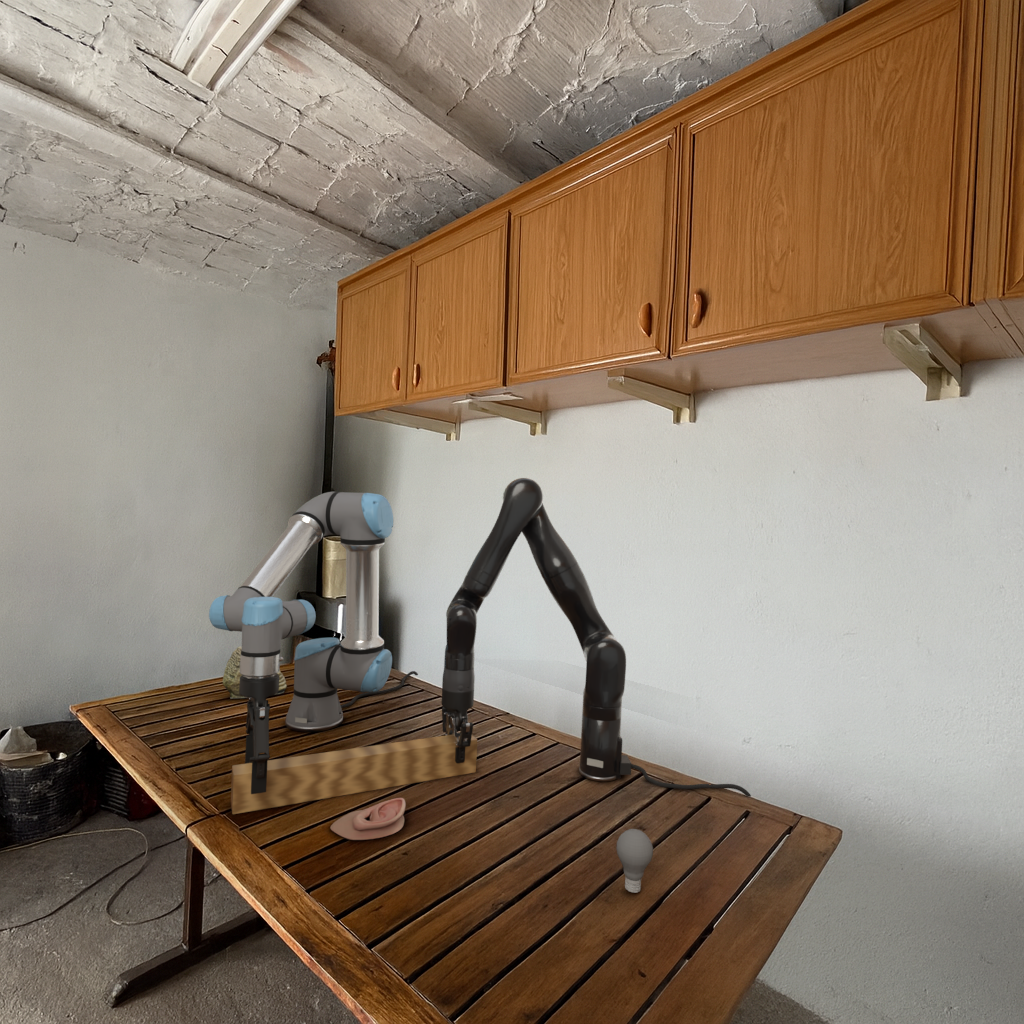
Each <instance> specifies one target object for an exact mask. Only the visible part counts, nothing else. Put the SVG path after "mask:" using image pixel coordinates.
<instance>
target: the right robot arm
mask: <svg viewBox="0 0 1024 1024" xmlns="http://www.w3.org/2000/svg"><path fill="white" fill-rule="evenodd" d="M543 500H544V494H543V490H542V487H541V485H539V483H537V482H536V481H535V480H534V479H532V478H530V477H529V478H528V477H519V478H516V479H514V480H512V481H511V482H509V483H508V484H507V485H506V487H505V489H504V490H503V494H502V504H501V507H500V510H499V514H498V516H497V518H496V521H495V523H494V525H493V527H492V528H491V531H490V532H489V534H488V536H487V538H486V539H485V541H484V543H483V544H482V545H481V547H480V549H479V550H478V552H477V554H476V555H475V558H474V559H473V560H472V563H471V564H470V567H469V568H468V570H467V573H466V575H465V576H464V579H463V582H462V583H461V585H460V587H459V588H458V590H457V591H456V592H455V595H454V596H453V598H452V599H451V601H450V603H449V605H448V607H447V610H446V612H445V617H446V618H445V619H446V645H445V648H444V659H443V660H444V662H443V673H442V683H441V685H442V686H441V706H442V707H441V721H442V723H441V724H442V726H441V727H442V732H443V733H444V736H446V735H453V737H455V744H456V748H455V762H456V763H463V762H464V761H465V747H468V746H470V744H471V737H472V735H473V731H474V723H473V721H472V722H469V717H468V711H469V710H470V709H471V708H473V706H474V700H475V699H474V698H475V681H476V677H475V676H476V675H475V657H476V656H475V655H476V654H475V653H476V652H475V643H476V635H477V626H478V612H479V611H480V608H481V607H482V605H483V603H484V601H485V599H486V598H487V597H488V596H489V595H490V594H491V592H492V591H493V588H494V586H495V585H496V583H497V581H498V579H499V577H500V575H501V573H502V571H503V570H504V566H505V564H506V562H507V560H508V558H509V557H510V554H511V552H512V549H514V545H515V544H516V542H517V540H518V539H519V537H520V535H521V534H523V536H524V538H525V540H526V542H527V545H528V547H529V549H530V552H531V555H532V558H533V560H534V562H535V565H536V567H537V569H538V571H539V573H540V575H541V578H542V579H543V582H544V584H545V585H546V587H547V590H548V591H549V593H550V595H551V596H552V598H553V600H554V602H555V604H557V606H558V607H559V609H560V610H561V611H562V613H563V615H564V616H565V617H566V618H567V620H568V622H570V625H571V626H572V629H573V631H574V634H575V635H576V637H577V640H578V642H579V645H580V648H581V651H582V654H583V657H584V660H585V661H586V663H585V667H586V668H585V682H584V683H585V684H584V688H583V692H582V709H581V710H582V711H581V713H582V714H581V732H580V733H581V734H580V750H579V751H580V752H579V753H580V754H579V767H578V773H579V774H580V776H582V777H583V778H585V779H587V780H590V781H594V782H611V781H615V780H621V779H622V776H631V775H632V769H633V770H637V771H639V772H640V773H641V774H642V775H643V778H644V779H645V780H646V781H648V782H649V783H650V784H652V785H655V786H658V787H661V788H666V789H676V790H701V789H714V790H719V789H720V790H721V789H732V790H737V791H739V792H741V793H742V794H744V796H746V797H752V794H751V793H750V792H749V791H748V790H747V789H745V788H744V787H742V786H741V785H738V784H734V783H698V784H697V783H695V784H679V783H666V782H661V781H658V780H655V779H654V778H652V777H650V776H649V775H648V773H647V771H646V770H645V769H644V768H643V767H641V766H640V765H637V764H633V763H632V761H631V760H630V758H629V757H628V755H626V754H623V738H622V736H621V729H622V728H621V727H622V710H623V709H622V706H623V705H622V704H623V696H624V694H625V687H626V673H627V654H626V650H625V648H624V646H623V645H622V643H621V642H620V641H619V640H618V638H617V637H616V636H615V635H614V634H613V632H612V631H611V629H610V628H609V627H608V625H607V624H606V621H605V620H604V619H603V617H602V615H601V613H600V612H599V610H598V608H597V605H596V602H595V600H594V599H595V598H594V595H593V593H592V590H591V588H590V585H589V582H588V580H587V578H586V575H585V573H584V572H583V570H582V567H581V566H580V564H579V562H578V560H577V558H576V557H575V555H574V553H573V552H572V550H571V549H570V547H569V546H568V545H567V543H566V542H565V540H564V539H563V537H561V535H560V534H559V532H558V531H557V530H556V528H555V527H554V525H553V523H552V521H551V520H550V518H549V515H548V513H547V511H546V509H545V506H544V503H543ZM459 736H460V738H459ZM709 784H711V785H709Z"/></svg>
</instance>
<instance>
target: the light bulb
mask: <svg viewBox="0 0 1024 1024" xmlns="http://www.w3.org/2000/svg"><path fill="white" fill-rule="evenodd" d="M615 849H616V854H617V857H618V859H619V861H620V863H621V865H622V867H623V873H624V874H623V875H624V876H625V878H624V888H625V890H627V891H628V892H630V893H634V894H635V893H639V892H640V891H641V889H642V887H641V886H642V879H643V877H644V875H645V871H646V868H647V867H648V866H649V864H650V863H651V861H652V859H653V855H654V847H653V843H652V841H651V838H649V836H648V835H647V834H646V833H645V832H643V831H642V830H641V829H636V828H629V829H627V830H625V831H623V832H622V833H621V834H620V835H619V837H618V839H617V841H616V847H615Z"/></svg>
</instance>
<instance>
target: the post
mask: <svg viewBox="0 0 1024 1024" xmlns="http://www.w3.org/2000/svg"><path fill="white" fill-rule="evenodd" d="M459 738H460V736H459ZM455 748H456V744H455V737H453V735H446V736H445V735H440V736H433V737H432V736H431V737H426V738H425V737H423V738H419V739H410V740H404V741H396V742H390V743H383V744H375V745H368V746H361V747H354V748H353V747H352V748H346V749H339V750H332V751H327V752H326V751H325V752H320V753H311V754H304V755H296V756H291V757H283V758H276V759H269V760H268V762H267V784H266V792H264V793H257V794H251V778H252V763H247V764H245V763H241V764H233V765H231V780H230V781H231V784H230V785H231V786H230V809H231V815H236V814H238V815H239V814H242V813H243V814H244V813H248V812H249V813H250V812H255V811H261V810H268V809H271V808H278V807H284V806H290V805H296V804H300V803H306V802H312V801H318V800H324V799H330V798H335V797H340V796H348V795H354V794H358V793H364V792H370V791H371V792H372V791H377V790H382V789H387V788H392V787H400V786H405V785H411V784H416V783H417V784H418V783H422V782H423V783H424V782H427V781H434V780H440V779H445V778H451V777H457V776H463V775H468V774H474V773H476V772H477V760H478V759H477V757H478V756H477V755H478V738H476V737H475V736H474V735H473V734H472V737H471V744H470V746H468V747H465V761H464V762H463V763H456V762H455Z"/></svg>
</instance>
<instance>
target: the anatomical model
mask: <svg viewBox="0 0 1024 1024" xmlns="http://www.w3.org/2000/svg"><path fill="white" fill-rule="evenodd" d="M406 807H407V804H406V799H405V798H403V797H396V798H391V799H388V800H385V801H382V802H378V803H376V804H374V805H372V806H370V807H367V808H364V809H360V810H355V811H351V812H348V813H347V814H344V815H343V816H341V817H340V818H338V819H336V820H335V821H334V822H333V823H332V824H331V825H330V830H331V832H333V833H335V834H337V835H338V836H339V837H342V838H344V839H346V840H351V841H365V840H374V839H380V838H384V837H388V836H391V835H394V834H395V833H397V832H399V831H400V830H402V829H403V828H404V825H405V816H404V814H405V812H406V811H405V810H406Z"/></svg>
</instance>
